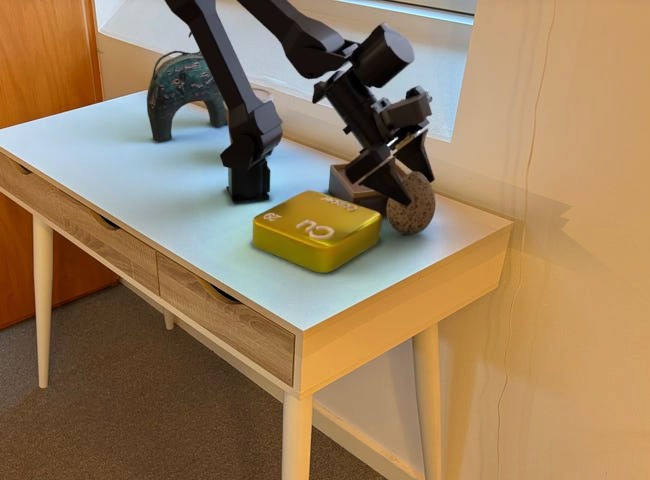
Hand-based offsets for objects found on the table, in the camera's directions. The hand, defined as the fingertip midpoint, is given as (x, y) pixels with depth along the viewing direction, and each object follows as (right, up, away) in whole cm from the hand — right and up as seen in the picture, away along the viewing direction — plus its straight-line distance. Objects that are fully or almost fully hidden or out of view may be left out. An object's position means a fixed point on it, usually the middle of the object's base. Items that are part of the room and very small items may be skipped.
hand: (421, 192), depth 108 cm
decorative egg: (-1, -5, +5) cm, 7 cm away
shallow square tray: (-4, +2, +14) cm, 15 cm away
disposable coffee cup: (-23, +14, +33) cm, 42 cm away
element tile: (-15, -7, +4) cm, 17 cm away
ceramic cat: (-34, +23, +45) cm, 61 cm away
